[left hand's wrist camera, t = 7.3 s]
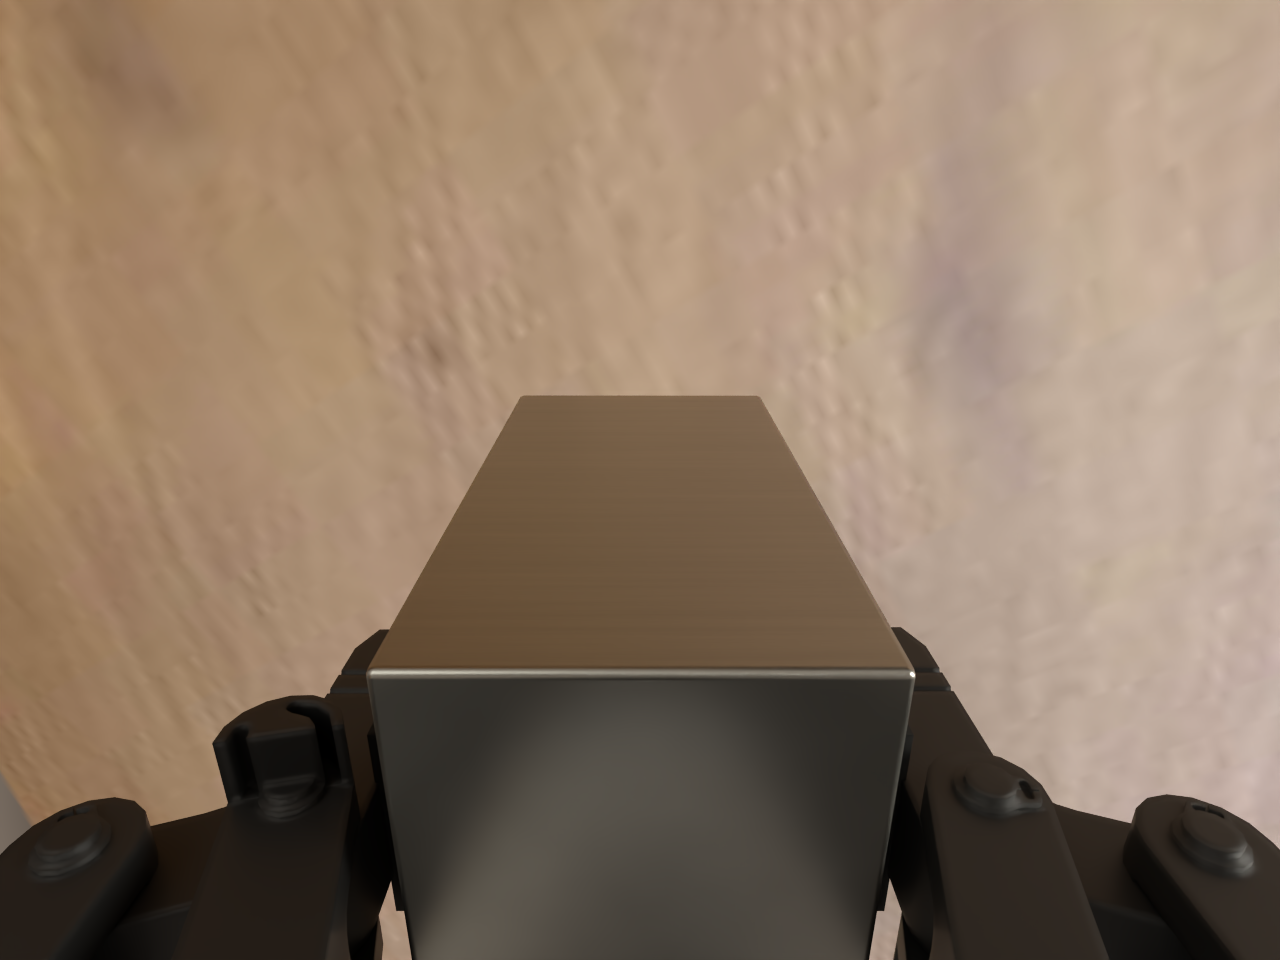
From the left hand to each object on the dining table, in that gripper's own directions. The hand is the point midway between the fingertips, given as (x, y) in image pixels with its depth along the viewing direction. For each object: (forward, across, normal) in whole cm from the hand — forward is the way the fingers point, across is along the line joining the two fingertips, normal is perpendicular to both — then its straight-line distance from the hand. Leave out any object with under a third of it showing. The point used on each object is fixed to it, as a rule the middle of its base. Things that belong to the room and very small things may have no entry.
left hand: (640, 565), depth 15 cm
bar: (+1, 0, -9) cm, 9 cm away
